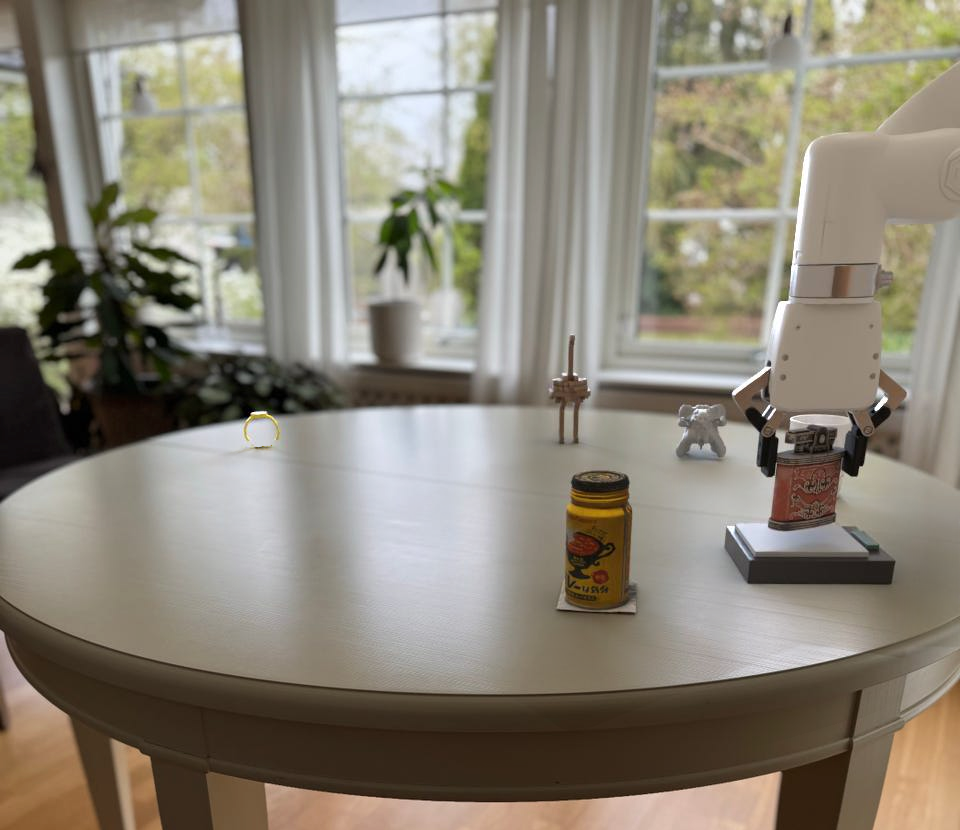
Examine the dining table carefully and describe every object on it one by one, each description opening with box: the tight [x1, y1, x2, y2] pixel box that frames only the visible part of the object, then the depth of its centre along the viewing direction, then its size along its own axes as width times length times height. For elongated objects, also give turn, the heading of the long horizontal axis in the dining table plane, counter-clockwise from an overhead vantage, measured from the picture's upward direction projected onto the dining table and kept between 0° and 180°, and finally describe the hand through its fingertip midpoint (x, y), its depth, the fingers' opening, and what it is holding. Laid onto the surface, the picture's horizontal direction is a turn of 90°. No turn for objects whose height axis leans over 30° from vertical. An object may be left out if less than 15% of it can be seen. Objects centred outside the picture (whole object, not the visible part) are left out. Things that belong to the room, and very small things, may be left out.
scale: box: [724, 522, 896, 585], centre depth 92 cm, size 14×12×3 cm
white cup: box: [787, 413, 852, 498], centre depth 117 cm, size 8×8×10 cm
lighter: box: [767, 424, 845, 532], centre depth 89 cm, size 8×3×10 cm, turn 116°
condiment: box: [556, 470, 638, 613], centre depth 83 cm, size 7×8×12 cm
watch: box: [243, 411, 281, 442], centre depth 154 cm, size 6×3×6 cm, turn 103°
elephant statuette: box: [675, 403, 728, 459], centre depth 143 cm, size 9×12×8 cm
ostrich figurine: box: [548, 333, 592, 444], centre depth 156 cm, size 17×7×18 cm, turn 1°
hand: (808, 472), depth 89 cm, fingers closed on lighter, 7 cm apart
